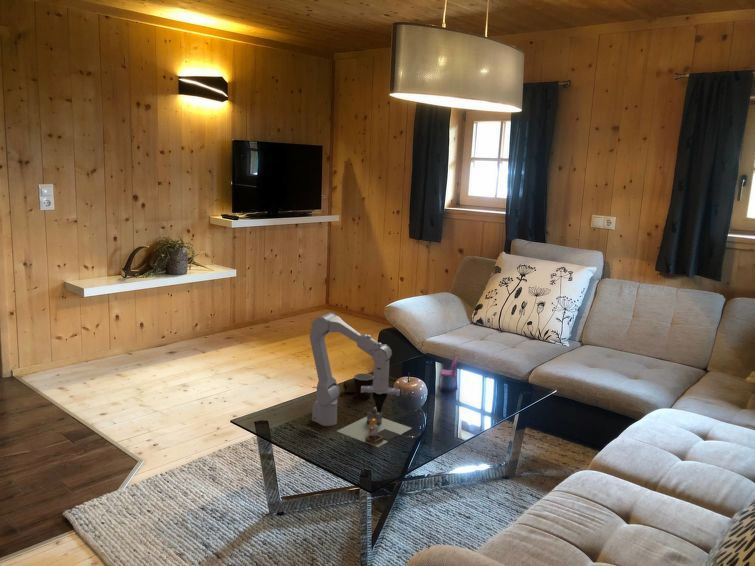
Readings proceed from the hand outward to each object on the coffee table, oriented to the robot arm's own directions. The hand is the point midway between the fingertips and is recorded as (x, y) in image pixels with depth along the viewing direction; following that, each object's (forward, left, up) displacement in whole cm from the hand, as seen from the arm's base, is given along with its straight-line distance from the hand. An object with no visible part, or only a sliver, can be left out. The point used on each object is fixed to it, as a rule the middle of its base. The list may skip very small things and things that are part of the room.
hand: (379, 411), depth 233 cm
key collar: (+3, -7, -9) cm, 11 cm away
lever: (-3, +1, -8) cm, 9 cm away
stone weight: (-34, +31, -10) cm, 47 cm away
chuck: (-7, +6, -9) cm, 13 cm away
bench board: (-3, +1, -9) cm, 10 cm away
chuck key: (+3, -7, -9) cm, 11 cm away
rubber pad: (+4, 0, -9) cm, 9 cm away
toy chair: (-7, +63, -10) cm, 64 cm away
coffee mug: (-27, +26, -10) cm, 39 cm away
